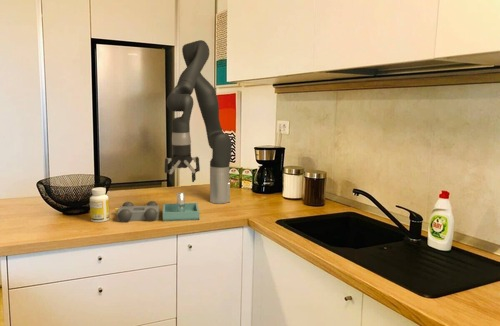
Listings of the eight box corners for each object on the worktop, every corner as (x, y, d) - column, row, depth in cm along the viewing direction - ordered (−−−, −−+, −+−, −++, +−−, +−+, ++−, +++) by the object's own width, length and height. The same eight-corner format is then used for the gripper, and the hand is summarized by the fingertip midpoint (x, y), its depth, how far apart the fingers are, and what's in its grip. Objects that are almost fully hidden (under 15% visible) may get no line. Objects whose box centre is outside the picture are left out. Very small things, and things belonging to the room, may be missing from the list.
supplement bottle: (103, 216, 170) (102, 186, 168) (113, 219, 166) (111, 188, 164) (87, 220, 165) (85, 188, 163) (96, 223, 160) (95, 191, 158)
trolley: (159, 211, 178) (159, 200, 177) (158, 221, 165) (158, 208, 164) (115, 213, 175) (115, 201, 174) (111, 222, 161) (110, 210, 161)
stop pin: (184, 212, 175) (184, 191, 173) (184, 214, 172) (184, 193, 170) (177, 212, 174) (176, 192, 173) (177, 214, 171) (176, 193, 170)
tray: (197, 210, 182) (197, 202, 181) (199, 219, 167) (199, 211, 167) (163, 211, 179) (163, 203, 178) (162, 221, 165) (162, 212, 164)
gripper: (197, 141, 173) (198, 179, 176) (163, 142, 170) (164, 181, 173) (199, 143, 166) (200, 183, 168) (163, 144, 163) (165, 185, 165)
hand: (182, 182), depth 170 cm, fingers open, 8 cm apart
